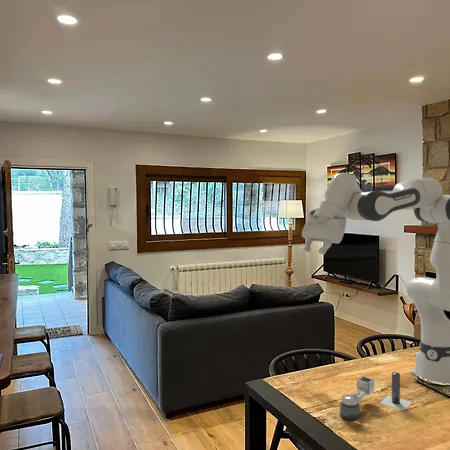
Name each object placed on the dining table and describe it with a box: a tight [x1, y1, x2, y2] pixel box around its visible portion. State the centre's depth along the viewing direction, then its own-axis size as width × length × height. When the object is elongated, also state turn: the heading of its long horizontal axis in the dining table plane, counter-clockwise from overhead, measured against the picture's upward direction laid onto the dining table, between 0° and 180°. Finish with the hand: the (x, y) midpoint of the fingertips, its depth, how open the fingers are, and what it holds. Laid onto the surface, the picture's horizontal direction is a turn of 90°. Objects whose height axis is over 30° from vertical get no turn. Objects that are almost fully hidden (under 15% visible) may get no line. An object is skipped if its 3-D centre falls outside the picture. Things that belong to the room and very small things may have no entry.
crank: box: [341, 376, 375, 407], centre depth 137 cm, size 17×5×4 cm, turn 138°
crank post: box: [339, 400, 361, 422], centre depth 132 cm, size 6×6×4 cm
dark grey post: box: [391, 371, 401, 404], centre depth 140 cm, size 3×3×10 cm
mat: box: [379, 394, 413, 412], centre depth 140 cm, size 8×8×1 cm
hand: (313, 252), depth 140 cm, fingers open, 8 cm apart
